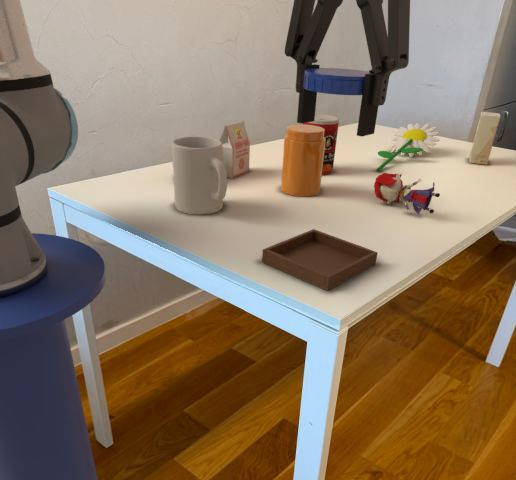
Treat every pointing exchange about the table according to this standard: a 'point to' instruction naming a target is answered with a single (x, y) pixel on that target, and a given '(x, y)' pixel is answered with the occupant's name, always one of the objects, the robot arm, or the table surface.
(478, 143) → the box
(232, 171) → the gable top carton
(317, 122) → the canned food
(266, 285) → the table surface
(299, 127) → the honey jar
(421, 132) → the decorative flower
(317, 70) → the jar lid
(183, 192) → the mug
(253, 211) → the table surface
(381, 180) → the figurine
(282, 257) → the tray
